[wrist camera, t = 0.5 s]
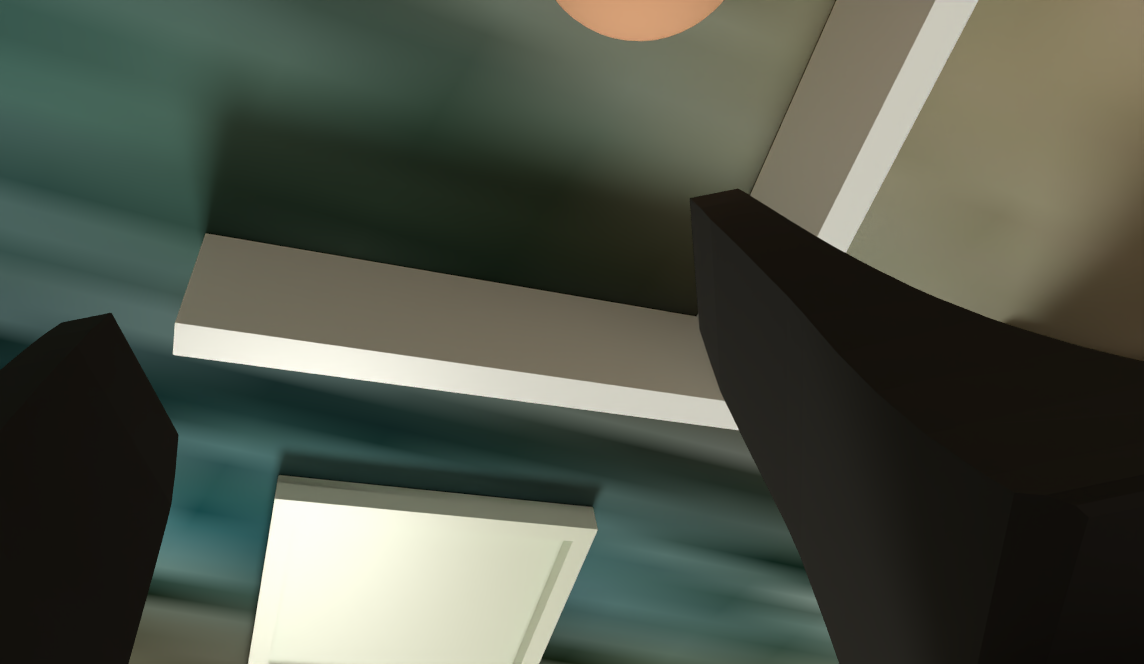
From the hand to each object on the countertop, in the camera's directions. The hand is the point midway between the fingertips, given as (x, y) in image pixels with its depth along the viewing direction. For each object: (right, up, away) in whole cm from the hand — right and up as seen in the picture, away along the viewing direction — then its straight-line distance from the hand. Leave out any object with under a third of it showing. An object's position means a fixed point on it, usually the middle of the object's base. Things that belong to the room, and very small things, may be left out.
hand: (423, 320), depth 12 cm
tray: (-3, -8, +18) cm, 20 cm away
